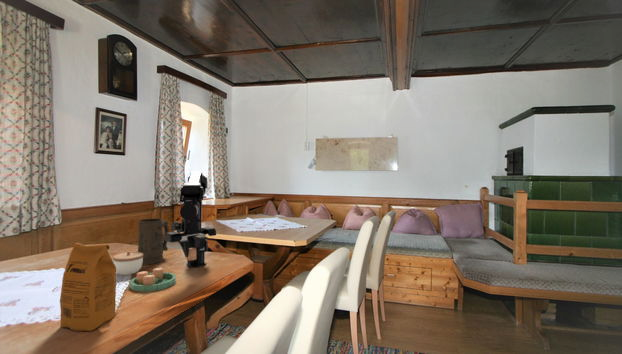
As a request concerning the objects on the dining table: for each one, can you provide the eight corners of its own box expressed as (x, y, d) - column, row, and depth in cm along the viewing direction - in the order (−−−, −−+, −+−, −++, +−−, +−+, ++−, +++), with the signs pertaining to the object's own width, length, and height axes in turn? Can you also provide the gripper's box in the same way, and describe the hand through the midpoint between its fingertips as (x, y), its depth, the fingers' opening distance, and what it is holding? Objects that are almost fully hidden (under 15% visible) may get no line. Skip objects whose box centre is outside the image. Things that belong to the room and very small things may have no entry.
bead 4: (193, 257, 121) (193, 247, 121) (198, 259, 119) (198, 248, 119) (184, 259, 118) (184, 248, 118) (189, 261, 116) (189, 250, 116)
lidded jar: (129, 279, 119) (129, 255, 119) (106, 277, 121) (106, 253, 121) (149, 271, 130) (149, 249, 130) (127, 269, 132) (127, 247, 132)
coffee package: (88, 312, 91) (88, 238, 91) (121, 317, 88) (122, 241, 88) (52, 328, 82) (52, 245, 81) (88, 335, 78) (88, 249, 78)
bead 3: (155, 278, 118) (155, 268, 118) (164, 278, 119) (164, 267, 119) (151, 281, 115) (151, 270, 115) (161, 281, 115) (161, 270, 115)
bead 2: (151, 285, 111) (152, 274, 111) (156, 287, 109) (156, 276, 109) (141, 287, 109) (141, 276, 109) (145, 290, 106) (145, 278, 106)
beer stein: (149, 265, 136) (152, 220, 138) (130, 263, 139) (133, 219, 141) (173, 259, 151) (176, 218, 152) (156, 257, 154) (158, 217, 155)
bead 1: (145, 281, 115) (145, 270, 115) (149, 283, 113) (149, 272, 113) (135, 283, 112) (135, 273, 112) (139, 286, 110) (139, 275, 110)
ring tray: (164, 276, 123) (164, 269, 123) (183, 285, 114) (183, 278, 114) (123, 286, 112) (123, 279, 112) (140, 297, 102) (140, 289, 102)
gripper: (202, 212, 131) (201, 248, 131) (157, 216, 117) (157, 257, 117) (217, 214, 124) (216, 253, 124) (171, 219, 109) (171, 263, 110)
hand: (191, 256), depth 119 cm, fingers closed on bead 4, 4 cm apart
